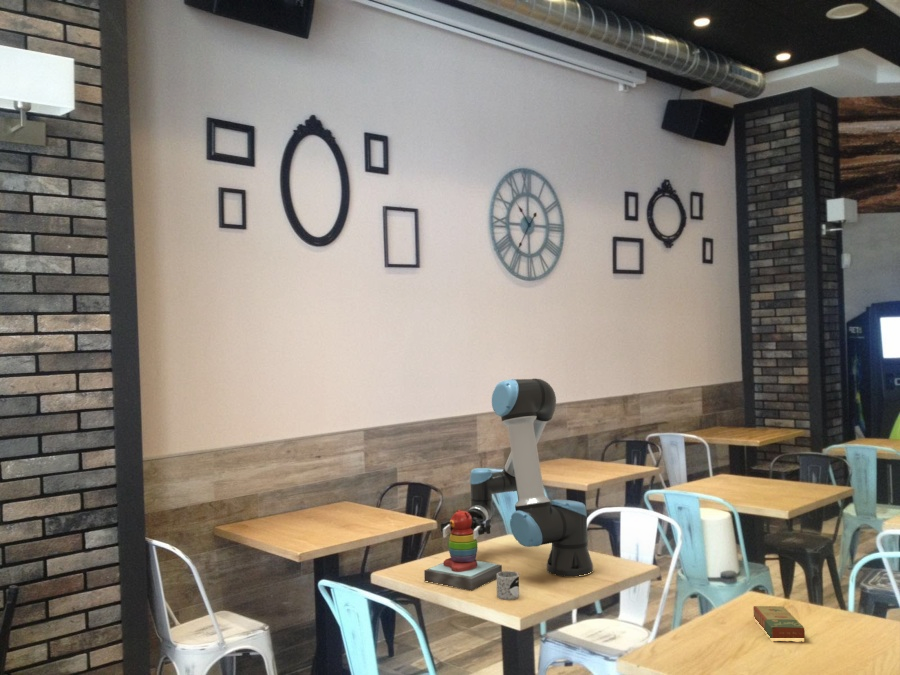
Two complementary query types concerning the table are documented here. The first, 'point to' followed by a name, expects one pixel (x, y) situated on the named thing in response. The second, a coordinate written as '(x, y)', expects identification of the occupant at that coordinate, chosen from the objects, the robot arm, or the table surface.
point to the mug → (507, 585)
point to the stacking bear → (461, 543)
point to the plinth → (463, 575)
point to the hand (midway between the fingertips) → (459, 534)
